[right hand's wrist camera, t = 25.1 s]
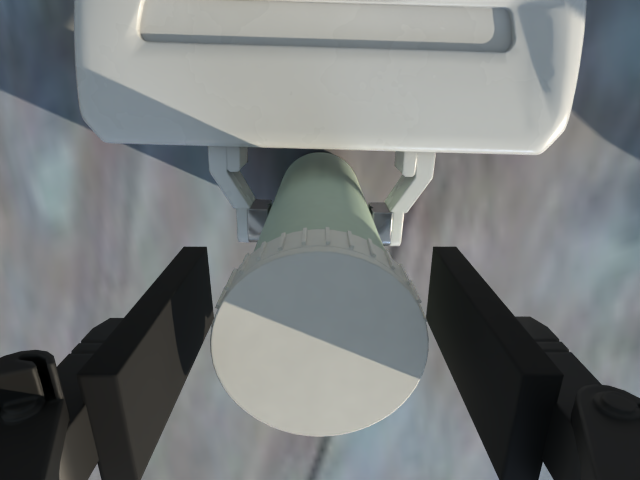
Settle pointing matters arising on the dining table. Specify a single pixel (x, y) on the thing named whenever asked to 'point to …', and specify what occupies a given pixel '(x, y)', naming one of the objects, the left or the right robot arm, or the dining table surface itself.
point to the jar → (319, 200)
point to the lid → (319, 333)
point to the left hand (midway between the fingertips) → (320, 240)
